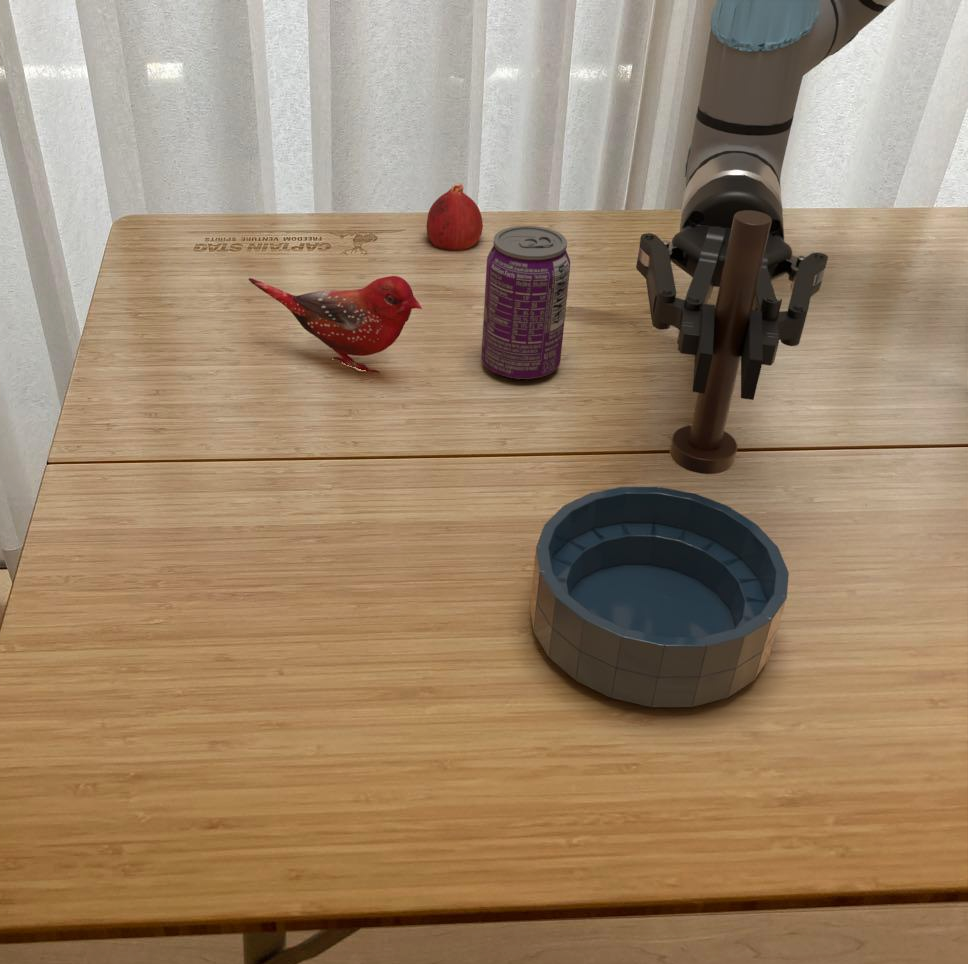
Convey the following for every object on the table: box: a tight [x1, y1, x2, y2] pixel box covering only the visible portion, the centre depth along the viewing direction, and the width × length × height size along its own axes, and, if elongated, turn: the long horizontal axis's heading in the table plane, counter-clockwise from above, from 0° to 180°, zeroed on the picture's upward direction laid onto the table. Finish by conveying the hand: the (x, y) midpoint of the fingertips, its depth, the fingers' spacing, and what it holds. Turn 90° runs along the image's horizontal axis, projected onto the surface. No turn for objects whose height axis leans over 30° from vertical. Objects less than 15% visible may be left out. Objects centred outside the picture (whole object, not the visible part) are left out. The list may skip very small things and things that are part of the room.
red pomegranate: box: [426, 182, 484, 251], centre depth 115 cm, size 6×6×8 cm
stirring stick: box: [669, 210, 772, 475], centre depth 71 cm, size 4×4×17 cm
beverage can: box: [480, 225, 571, 380], centre depth 97 cm, size 7×7×12 cm
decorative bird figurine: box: [248, 275, 423, 375], centre depth 97 cm, size 3×18×10 cm, turn 62°
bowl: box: [529, 486, 790, 708], centre depth 72 cm, size 16×16×6 cm
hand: (727, 376), depth 67 cm, fingers closed on stirring stick, 2 cm apart
